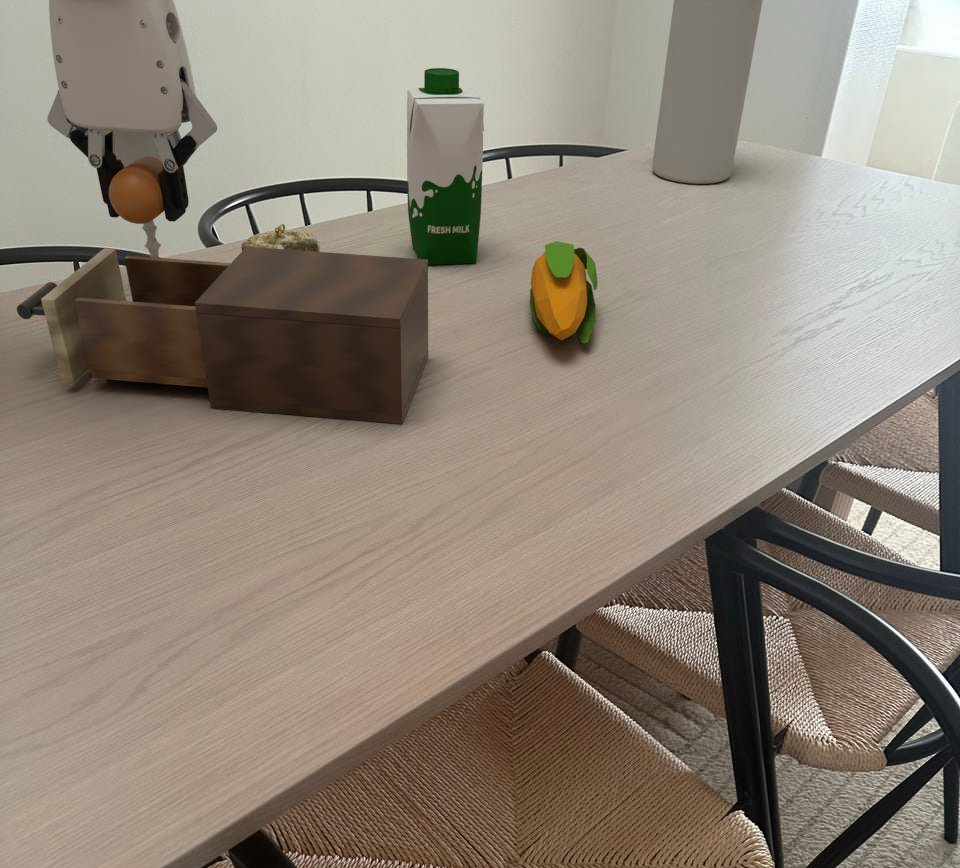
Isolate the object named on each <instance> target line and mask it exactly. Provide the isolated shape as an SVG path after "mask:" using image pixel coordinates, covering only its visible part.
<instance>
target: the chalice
mask: <svg viewBox="0 0 960 868" xmlns="http://www.w3.org/2000/svg"><path fill="white" fill-rule="evenodd" d="M115 155H116V159H117V160H121V163H123V165H124V168H125V167H127V166H128V165H130V164H131V163H133V162H134V161H136V160H137V159H140V158H143V157H154V158H158V159H160V156H159V154H158V151H157V148H156V146H155V143H154V140H153V138H152V135H151V133H145V132H128V131H116V133H115ZM160 160H161V159H160ZM141 227H142V228H141V229H142V230H143V231H144V233H145V235H146V242H145V244H144V248H146V249H147V250H148V253H149V256H150V257H155V258H160V256H159V251H160V250H159V249H160V248H161V246H162V244H161V243H160V242H158V240H157V238H156V233H157V232H156V231H157V229H158V226H157V225H156V224H155V221H154V220H152V221H150V222H148V223H144V224H142V226H141Z"/></svg>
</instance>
